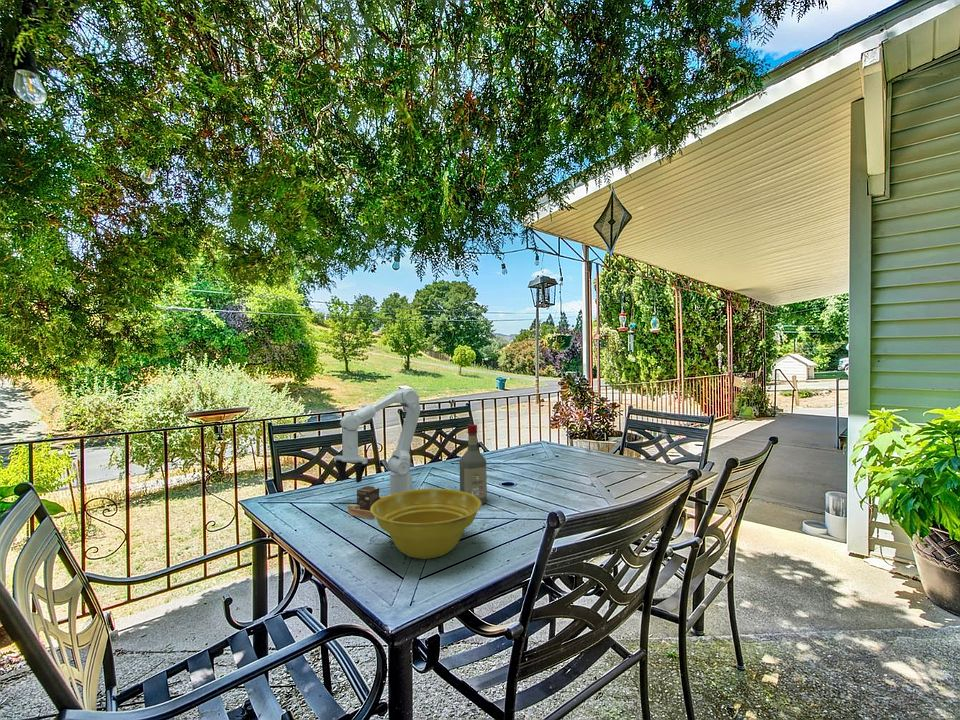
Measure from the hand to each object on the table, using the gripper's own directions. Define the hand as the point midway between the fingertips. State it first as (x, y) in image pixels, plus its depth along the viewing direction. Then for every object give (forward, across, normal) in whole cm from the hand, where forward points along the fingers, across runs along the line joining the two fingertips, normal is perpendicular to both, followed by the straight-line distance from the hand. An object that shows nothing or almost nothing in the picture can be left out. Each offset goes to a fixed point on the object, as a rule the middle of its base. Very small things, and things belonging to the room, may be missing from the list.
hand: (350, 481), depth 168 cm
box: (+10, +8, 0) cm, 13 cm away
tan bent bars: (+9, +18, 0) cm, 20 cm away
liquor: (+10, +43, +19) cm, 48 cm away
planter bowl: (+10, +47, -24) cm, 53 cm away
